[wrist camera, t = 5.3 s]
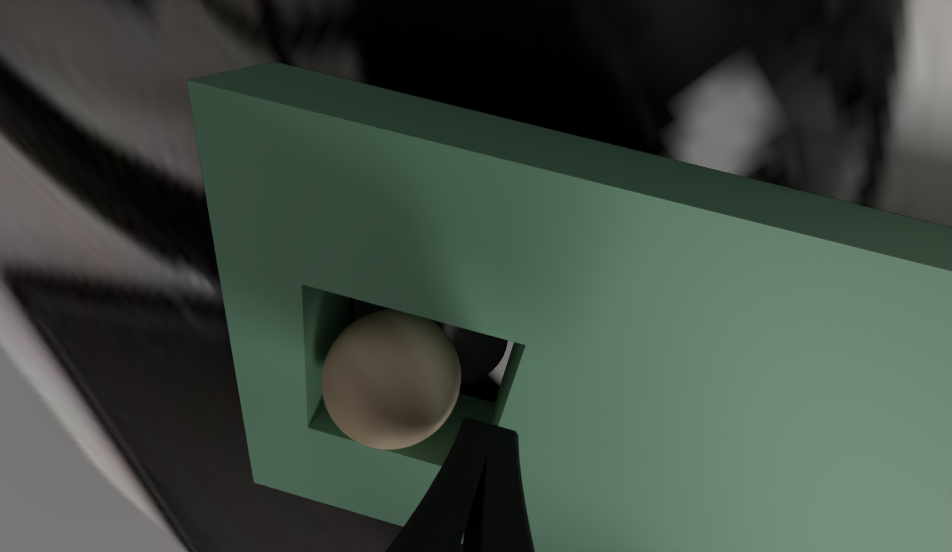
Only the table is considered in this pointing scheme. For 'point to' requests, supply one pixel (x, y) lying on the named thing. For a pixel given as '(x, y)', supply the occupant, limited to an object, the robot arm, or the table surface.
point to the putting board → (583, 322)
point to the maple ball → (391, 379)
